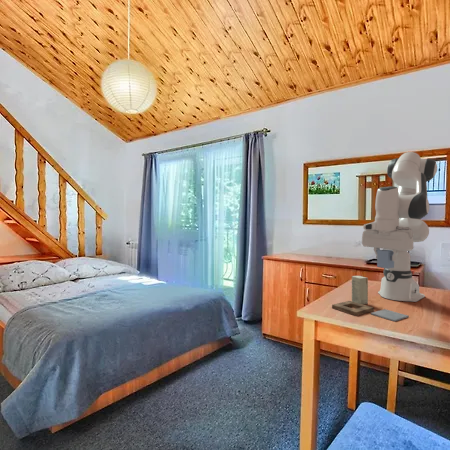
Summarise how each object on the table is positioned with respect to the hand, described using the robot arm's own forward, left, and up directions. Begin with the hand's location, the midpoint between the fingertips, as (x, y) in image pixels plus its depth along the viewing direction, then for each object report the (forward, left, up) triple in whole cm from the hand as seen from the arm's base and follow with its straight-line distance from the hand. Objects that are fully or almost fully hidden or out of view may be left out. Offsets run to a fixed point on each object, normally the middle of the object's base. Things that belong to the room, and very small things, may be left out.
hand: (385, 259), depth 127 cm
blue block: (0, 0, -3) cm, 3 cm away
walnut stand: (+5, -11, -23) cm, 26 cm away
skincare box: (-7, -16, -23) cm, 29 cm away
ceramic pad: (-1, +2, -23) cm, 23 cm away
